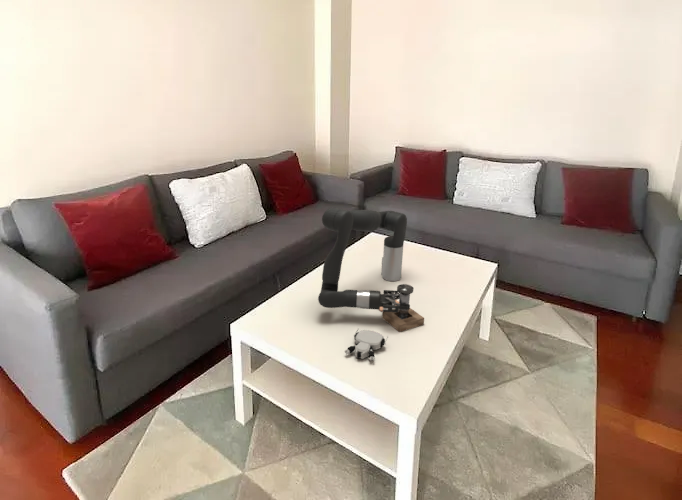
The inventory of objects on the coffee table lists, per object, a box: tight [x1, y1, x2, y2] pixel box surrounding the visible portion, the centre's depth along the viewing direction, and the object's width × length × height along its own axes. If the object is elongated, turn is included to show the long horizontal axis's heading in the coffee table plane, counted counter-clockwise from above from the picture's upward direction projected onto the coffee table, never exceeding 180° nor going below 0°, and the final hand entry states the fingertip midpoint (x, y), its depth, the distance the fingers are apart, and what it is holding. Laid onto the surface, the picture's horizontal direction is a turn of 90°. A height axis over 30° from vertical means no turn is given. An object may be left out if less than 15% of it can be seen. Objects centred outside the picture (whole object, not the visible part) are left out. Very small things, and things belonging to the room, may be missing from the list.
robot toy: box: [344, 327, 389, 361], centre depth 168 cm, size 12×4×15 cm
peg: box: [396, 283, 414, 319], centre depth 185 cm, size 6×6×15 cm
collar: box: [381, 307, 425, 333], centre depth 187 cm, size 12×12×3 cm
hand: (409, 302), depth 184 cm, fingers open, 7 cm apart
